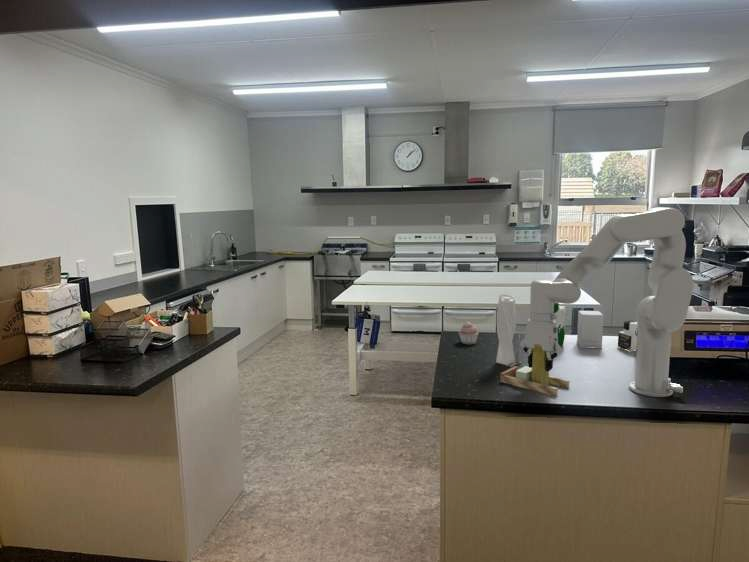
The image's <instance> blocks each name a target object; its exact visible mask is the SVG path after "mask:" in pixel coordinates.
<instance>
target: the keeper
mask: <svg viewBox="0 0 749 562" xmlns="http://www.w3.org/2000/svg"><path fill="white" fill-rule="evenodd" d="M518 369H519V370H517V371H516V376H515V378H518V379H522V380H526V381H531V370H532V367H531V368H530V367H529V365H528V366H527V365H524V366H522V367H521V368H518Z"/></svg>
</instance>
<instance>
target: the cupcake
mask: <svg viewBox="0 0 749 562" xmlns="http://www.w3.org/2000/svg"><path fill="white" fill-rule="evenodd" d="M475 325H476V324H475ZM475 325H474V324H472V323H471V321H467V322H465V323H464V324H463V325H462V326H461V328H460V330H459V332H458V336H459V337H460V340H461V341H460V342H461V343H462V344H464V345H474V344H476V342H477V338H478V335H479V334H480V332H479V331H478V330H477V327H476V326H475Z"/></svg>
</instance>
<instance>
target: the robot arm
mask: <svg viewBox="0 0 749 562" xmlns="http://www.w3.org/2000/svg"><path fill="white" fill-rule="evenodd" d="M685 224H686V218H685V215H684V214H683V213H682V211H680V210H678V209H677V208H674V207H654V208H652V207H651V208H650V209H648V210H647V211H645V212H640V213H636V214H632V213H631V214H616V215H614V216H612V217H611V218H610V219H608V220H607V221H606V222H605V224H604V225H603V226H602V228H601V229H599V231H598V232H597V233H596V235H594V237H593V238H592V239H591V241H590V242H589V243H588V244H587V245H586V246H585V247H584V248H583V250H582V251H580V252H579V253H578V254H577V255H576V256H575V257H574V258H572V260H570V261H569V262H568V264H566V265H565V266H564V268H563V269H562V270H561V271H560V273H558V275H557V276H556V277H555V278H554V280H553V281H552V280H549V279H535V280H533V281H531V283H530V296H529V297H530V298H529V299H530V300H529V305H530V306H529V318H528V320H527V322H526V328H525V333H524V338H523V339H522V340H520V343H519V345H520V348H522V350H523V351H524V352H525V353H526V356H527V364H528V366H529V367H530V368H531V367H532V352H533V349H534V346H535V345H534V344H537V345H541V346H542V350H543V351H546V354H547V358H548V359H547V360H546V371H549V372H551V370H552V369H553V368H554V367H553V366H554V359H556V357H557V356H559V355H560V354H562V353H564V349H563V347H562V348H561V347H560V345H559V344H558V332H557V325H556V321H553V320H554V319H557V315H554V302H556V303H559V304H566V305H570V304H575V303H576V302H578V301H579V299H580V298H581V295H582V290H581V289H580V287H579V285H580V284H581V283H582V281H583V280H584V279H585V278H586V277H588V276H589V275H590V274H592V273H594V272H595V271H598V270H600V269H603V268H604V267H606V266H607V265H608V264H609V263H610V262H611V260H612V259H613V258H614V257H615V256H616V255H617V253H619V251H620V250H621V249H622V248H623V246H625V244H626V243H629V244H631V243H637V242H644V241H651V240H653V243H654V248H653V254H652V255H653V256H652V259H651V264H650V267H649V272H648V276H647V283H648V286H649V287H650V288H651V290H653V291H655V292H656V295H649V296H646V297H644V298H643V299H641V301H640V302H638V305H637V307H636V322H637V326H638V337H637V351H635V353H636V354H635V370H634V381H631V382H629V384H628V386H629V387H628V388H629V389H630V390H631V391H632V392H634V393H636V394H639V395H642V396H647V397H653V398H654V397H655V398H667V397H670V396H672V395H673V392H676V393H681V394H682V393H683V391H684V387H683V386H681V384H677V383H673V382H672V381H671V380H672V379H671V377H669V373H670V357H671V356H670V354H671V348H672V347H671V345H672V343H671V342H672V334H671V333H673V332H676V331H678V330H679V329H680V328H682V326H683V325H684V323H685V321H686V319H687V315H688V311H689V307H690V303H691V300H692V296H693V295H692V294H693V292H694V291H693V290H694V278H693V276H692V274H691V273H690V272H689V271H688V270H687V269H686V268H684V267H683V265H684V260H685V254H686V249H687V243H686V241H687V240H686V236H685V235H684V232H683V229H684V227H685ZM554 350H556V351H554Z"/></svg>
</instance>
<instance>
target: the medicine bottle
mask: <svg viewBox="0 0 749 562" xmlns="http://www.w3.org/2000/svg"><path fill="white" fill-rule="evenodd" d="M636 328H638V327H637V320H636V321H635V320H625V321H624V322H623V330H622V331H618V335H617V348H618V347H620V348H619V349H621V348H623V349H622V350H624V349H627V350H629V351H633V352H635V351H634V350H637V336H636V335H635V330H636V331H637V329H636ZM629 351H628V352H629Z"/></svg>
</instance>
